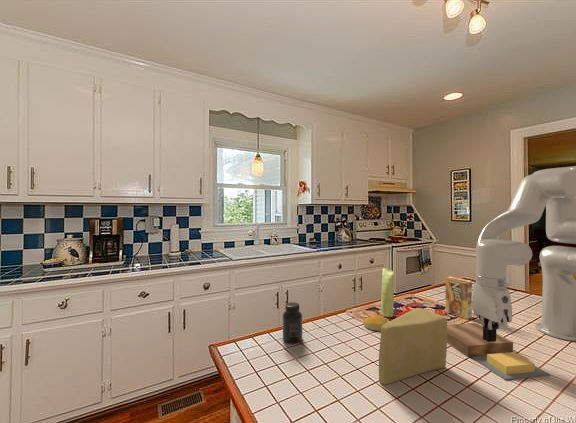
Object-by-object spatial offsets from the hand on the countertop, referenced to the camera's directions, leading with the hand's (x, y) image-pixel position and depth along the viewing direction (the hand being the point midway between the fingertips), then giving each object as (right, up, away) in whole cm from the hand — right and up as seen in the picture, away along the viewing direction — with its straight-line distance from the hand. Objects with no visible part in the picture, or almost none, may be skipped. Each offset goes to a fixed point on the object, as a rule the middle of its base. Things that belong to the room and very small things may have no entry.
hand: (489, 340), depth 84 cm
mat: (+1, -5, -6) cm, 8 cm away
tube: (-21, -4, +30) cm, 37 cm away
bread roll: (-29, -4, +20) cm, 35 cm away
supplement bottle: (-61, -4, +9) cm, 62 cm away
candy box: (+9, -4, +30) cm, 32 cm away
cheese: (-29, -5, -9) cm, 31 cm away
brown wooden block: (-1, -4, +7) cm, 8 cm away
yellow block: (+1, -2, -7) cm, 7 cm away
